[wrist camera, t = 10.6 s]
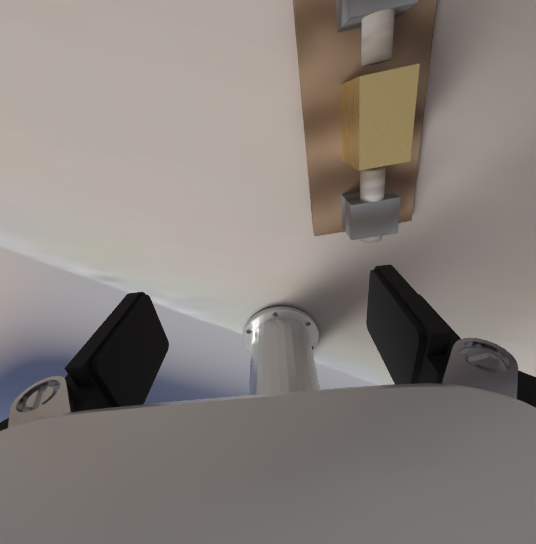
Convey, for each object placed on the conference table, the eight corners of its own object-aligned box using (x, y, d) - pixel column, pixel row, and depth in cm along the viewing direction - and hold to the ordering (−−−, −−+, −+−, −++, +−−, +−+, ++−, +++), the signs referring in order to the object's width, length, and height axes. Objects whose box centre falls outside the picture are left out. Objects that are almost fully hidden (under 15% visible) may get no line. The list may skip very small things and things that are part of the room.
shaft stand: (406, 217, 33) (429, 233, 29) (313, 232, 34) (320, 250, 30) (436, -63, 21) (483, -112, 17) (290, -27, 22) (296, -64, 18)
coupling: (340, 83, 25) (359, 75, 20) (387, 73, 25) (419, 62, 20) (342, 161, 29) (359, 171, 24) (384, 153, 28) (410, 161, 23)
